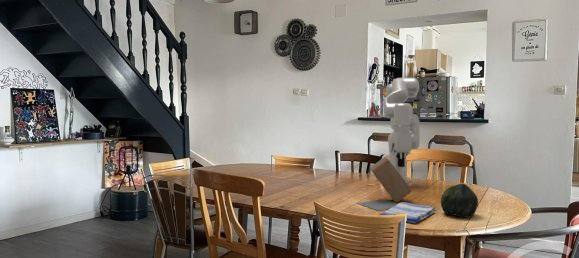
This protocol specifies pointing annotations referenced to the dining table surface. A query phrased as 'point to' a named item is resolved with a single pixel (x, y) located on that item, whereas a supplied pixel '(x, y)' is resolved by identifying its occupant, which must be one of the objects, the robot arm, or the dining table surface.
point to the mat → (379, 204)
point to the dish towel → (411, 211)
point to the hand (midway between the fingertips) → (401, 166)
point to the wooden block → (391, 179)
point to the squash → (459, 201)
